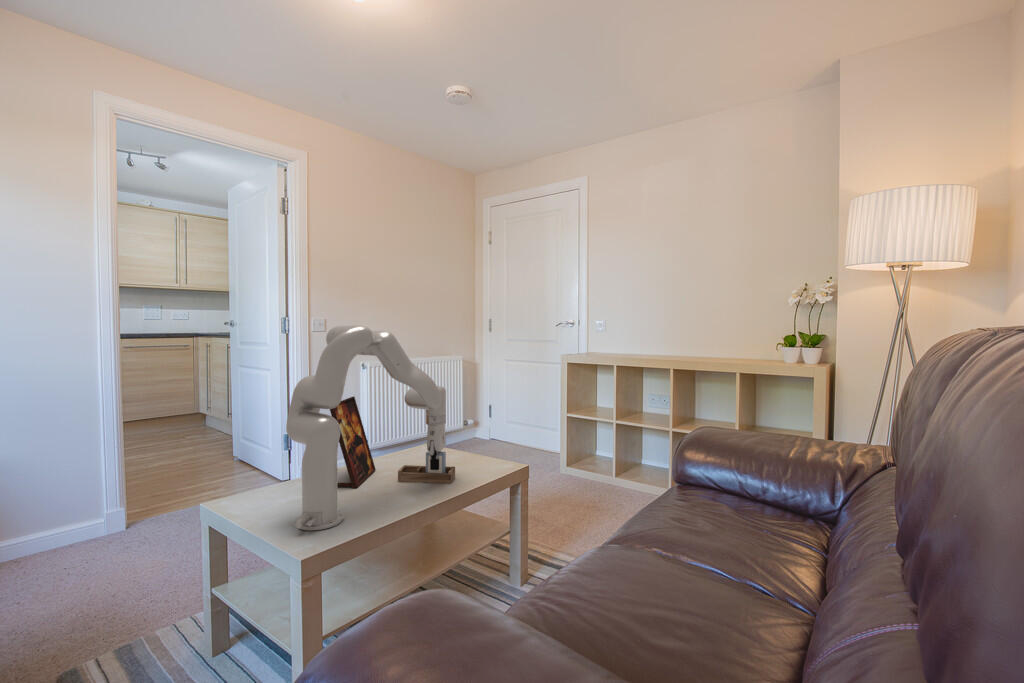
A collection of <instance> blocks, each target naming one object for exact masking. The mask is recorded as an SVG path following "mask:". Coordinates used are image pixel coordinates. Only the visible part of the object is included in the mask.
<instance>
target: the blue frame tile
mask: <svg viewBox="0 0 1024 683" xmlns="http://www.w3.org/2000/svg"><path fill="white" fill-rule="evenodd" d="M446 456H447V452H446V451H441V452H438V459H439V470H431V469H430V451H428V450H427V451H426V453H425V466H426V473H446V467H447V464H446V463H447V457H446Z"/></svg>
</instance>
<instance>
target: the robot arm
mask: <svg viewBox="0 0 1024 683" xmlns="http://www.w3.org/2000/svg"><path fill="white" fill-rule="evenodd" d="M325 340H326V346H325V348H324V349H323V351H322V352H321V354H320V357H319V360H318V364H317V366H316V371H315V375H307V376H304V377H303V378H301V379H300V380H299V381H298V382H297V383H296V386H295V387H294V390H293V393H292V396H291V400H290V404H289V410H288V415H287V420H286V430H285V431H286V434H287V436H288V437H289V439H290V440H292V441H293V442H296V443H298V444H302V445H305V450H304V453H303V455H302V459H301V488H302V489H301V491H302V492H301V498H302V499H301V505H302V507H301V508H302V509H301V510H302V511H301V516H300V517H298V518H297V520H296V521H295V524H294V527H295V528H296V529H298V530H299V529H300V530H303V531H309V532H310V531H311V532H312V531H321V530H325V529H330V528H333V527H335V526H337V525H339V524H340V523H342V522H343V521H344V514H343V513H342V512H341V511H339V509H338V504H339V503H338V495H339V494H338V487H337V483H338V453H339V452H338V449H339V445H340V443H339V439H340V425H339V423H338V422H337V420H336V419H335V418H333V417H332V416H331V414H330V415H329V414H326V413H320V411H321V410H330V409H333V408H335V407H337V406H338V405H339V404H340V402H341V401H342V400H343V395H344V390H345V385H346V380H347V375H348V372H349V367H350V364H351V362H352V361H353V360H354V358H356V356H358V355H359V356H369V357H370V356H373V357H376V358H377V359H378V361H379V362H380V363H381V365H382V366H383V368H384V369H385V370H386V372H387V373H388V375H389V376H390V377H391V378H392V379H393V380H395V381H397V382H399V383H401V384H403V385H406V386H407V387H409V388H410V389H408V390H407V391H406V392H405V395H404V397H403V398H404V400H403V401H404V402H405V404H406V405H407V407H409V408H412V409H416V410H418V409H419V410H425V425H427V433H426V434H427V435H426V449H427V451H430V469H431V470H439V459H438V452H442V450H444V449H445V447H446V446H447V444H446V443H447V442H446V441H447V440H446V423H447V390H446V388H445V387H444V386H441V385H440V386H439V385H438V386H437V384H436V382H435V381H434V380H433V378H431V377H430V375H429V374H427V373H426V372H424V370H422V369H421V368H420V367H418V366H417V365H416V364H414V362H412V361H411V359H410V358H409V356H408V355H407V353H406V351H405V350H404V349H403V347H402V346H401V343H400V342H399V341H398V339H397V338H396V337H395V335H394V334H393V333H392V332H390V331H388V330H371V328H369V327H367V326H364V325H337V326H334V327H332V328H330V329H329V331H327V333H326V336H325Z"/></svg>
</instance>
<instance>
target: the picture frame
mask: <svg viewBox="0 0 1024 683" xmlns="http://www.w3.org/2000/svg"><path fill="white" fill-rule="evenodd" d="M355 397H356V396H355V395H354V396H350V397H347V398H345V399H341V402H340V404H339V405H338V406H337V407H335V408H333V409H329V412H330V416H332V417H333V418H335V419H336V420H337V422H338V423H339V425H340V439H339V447H340V449H341V453H342V457H343V459H344V463H345V467H346V471H347V473H348V477H349V481H350V482H337V488H347V487H348V488H349V487H350V488H352V489H356V488H358V487H359V486H361V484H363V483H364V482H365V481H366V480H367V479H368V478H369V477H370V476H371V475H372V474H373V473H374V472H376V471H377V469H376V466H375V463H374V459H373V455H372V452H371V449H370V445H369V442H368V438H367V435H366V432H365V428H364V424H363V422H362V418H361V415H360V411H359V408H358V404H357V400H356V398H355Z"/></svg>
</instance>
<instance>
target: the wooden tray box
mask: <svg viewBox="0 0 1024 683" xmlns="http://www.w3.org/2000/svg"><path fill="white" fill-rule="evenodd" d="M454 478H455V479H456V466H446V473H426V465H407V464H406V465H405V464H404V465H403V466H401V468H399V469H398V470H397V482H398V483H416V482H431V483H430V484H445V483H451V482H452V483H453V481H454V480H455V479H454ZM453 479H454V480H453ZM452 483H451V484H452Z"/></svg>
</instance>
